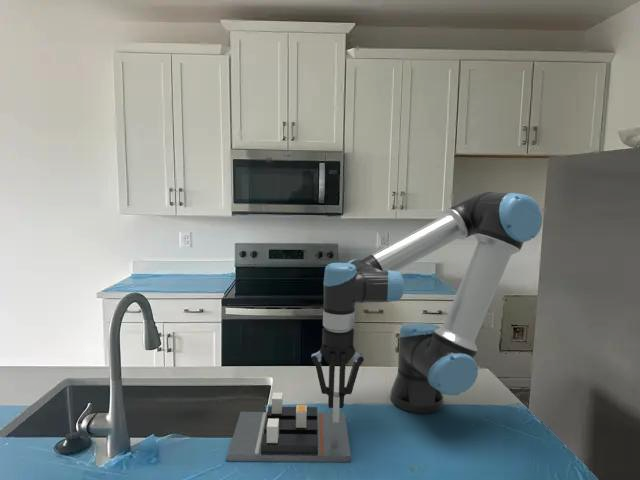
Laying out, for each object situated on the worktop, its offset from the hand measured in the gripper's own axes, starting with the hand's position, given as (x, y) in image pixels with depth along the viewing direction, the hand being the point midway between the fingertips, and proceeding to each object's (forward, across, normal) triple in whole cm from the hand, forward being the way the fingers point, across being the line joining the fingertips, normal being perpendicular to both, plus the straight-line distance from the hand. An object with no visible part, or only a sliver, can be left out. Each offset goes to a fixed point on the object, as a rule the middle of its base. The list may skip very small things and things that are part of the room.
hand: (335, 419), depth 110 cm
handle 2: (+1, +15, +6) cm, 16 cm away
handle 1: (+1, +15, -7) cm, 16 cm away
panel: (+5, +11, 0) cm, 12 cm away
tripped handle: (+1, +8, 0) cm, 9 cm away
